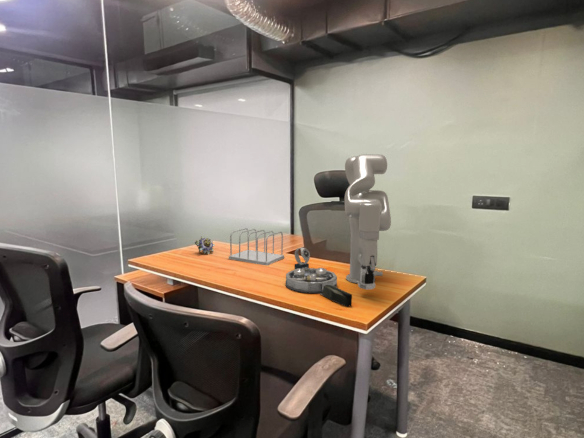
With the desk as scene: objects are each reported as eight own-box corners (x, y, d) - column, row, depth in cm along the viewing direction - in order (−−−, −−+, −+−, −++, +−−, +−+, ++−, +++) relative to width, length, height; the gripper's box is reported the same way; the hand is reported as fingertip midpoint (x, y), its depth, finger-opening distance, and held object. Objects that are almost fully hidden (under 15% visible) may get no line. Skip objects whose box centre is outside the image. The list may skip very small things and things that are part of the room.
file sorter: (228, 259, 189) (227, 231, 186) (247, 253, 204) (247, 226, 201) (267, 265, 176) (266, 235, 174) (284, 258, 191) (284, 230, 189)
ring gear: (330, 274, 158) (330, 267, 158) (341, 289, 137) (341, 282, 137) (284, 275, 156) (284, 268, 155) (288, 291, 135) (288, 283, 135)
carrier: (330, 276, 159) (330, 263, 158) (342, 292, 137) (342, 277, 136) (283, 277, 156) (283, 264, 155) (287, 294, 135) (288, 279, 134)
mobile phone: (353, 293, 124) (324, 281, 135) (347, 295, 122) (319, 283, 133) (352, 306, 124) (324, 293, 136) (347, 308, 122) (318, 295, 134)
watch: (304, 273, 164) (304, 250, 162) (291, 269, 169) (292, 247, 168) (311, 270, 168) (312, 248, 166) (299, 267, 173) (299, 245, 172)
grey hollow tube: (371, 283, 137) (372, 265, 136) (376, 289, 131) (377, 270, 130) (356, 283, 136) (357, 265, 135) (361, 289, 131) (362, 270, 129)
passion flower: (208, 263, 200) (201, 249, 192) (194, 257, 205) (187, 244, 197) (220, 249, 207) (214, 235, 199) (206, 244, 212) (200, 230, 204)
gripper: (352, 230, 138) (351, 273, 141) (366, 240, 121) (364, 289, 125) (371, 229, 139) (369, 273, 142) (386, 240, 122) (384, 289, 125)
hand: (366, 280), depth 133 cm, fingers closed on grey hollow tube, 4 cm apart
